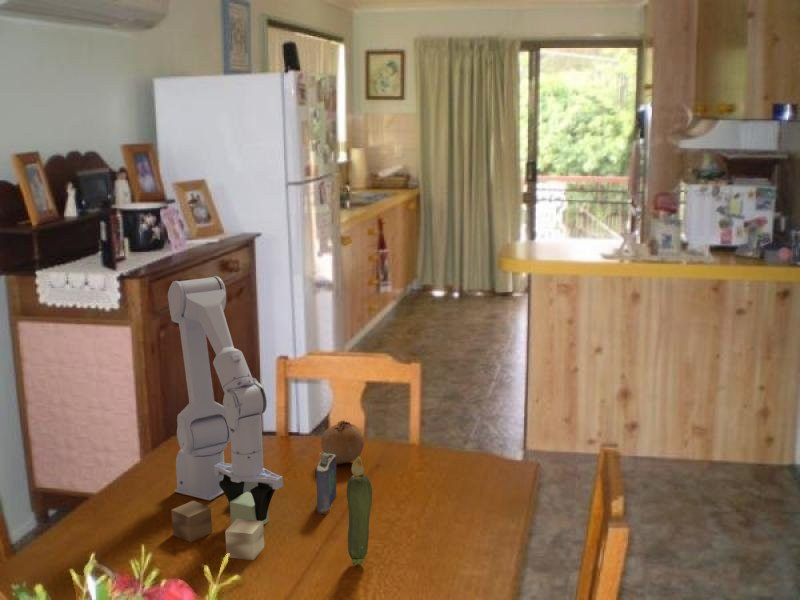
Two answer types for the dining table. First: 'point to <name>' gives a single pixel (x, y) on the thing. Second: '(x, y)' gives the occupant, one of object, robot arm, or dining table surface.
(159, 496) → the dining table surface
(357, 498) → the vegetable
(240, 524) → the cream cube
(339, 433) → the onion
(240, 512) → the green cube
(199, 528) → the walnut cube
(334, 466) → the flask
